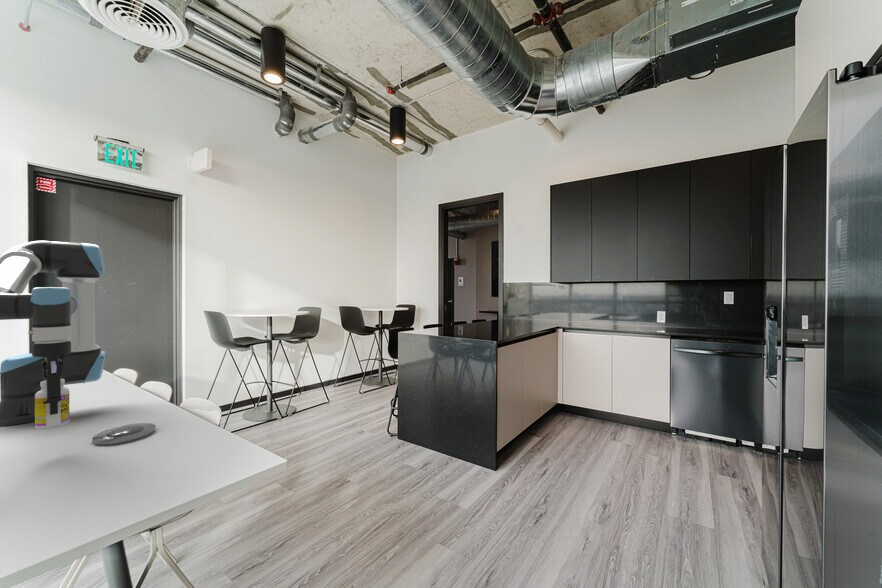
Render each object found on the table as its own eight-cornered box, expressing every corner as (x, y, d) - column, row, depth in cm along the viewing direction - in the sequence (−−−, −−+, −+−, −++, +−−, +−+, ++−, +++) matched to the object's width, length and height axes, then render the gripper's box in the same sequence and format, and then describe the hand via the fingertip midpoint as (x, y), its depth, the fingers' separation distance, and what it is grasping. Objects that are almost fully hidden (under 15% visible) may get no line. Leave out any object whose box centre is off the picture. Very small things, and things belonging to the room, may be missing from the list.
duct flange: (77, 445, 105) (77, 441, 105) (122, 426, 120) (122, 422, 120) (128, 445, 105) (128, 440, 105) (167, 426, 120) (167, 422, 120)
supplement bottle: (50, 430, 97) (50, 384, 97) (27, 429, 97) (26, 383, 97) (76, 421, 104) (76, 377, 104) (54, 420, 104) (54, 377, 104)
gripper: (30, 339, 103) (31, 417, 104) (32, 346, 91) (33, 435, 91) (67, 336, 109) (68, 410, 110) (74, 343, 97) (75, 426, 97)
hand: (52, 421), depth 100 cm, fingers closed on supplement bottle, 7 cm apart
